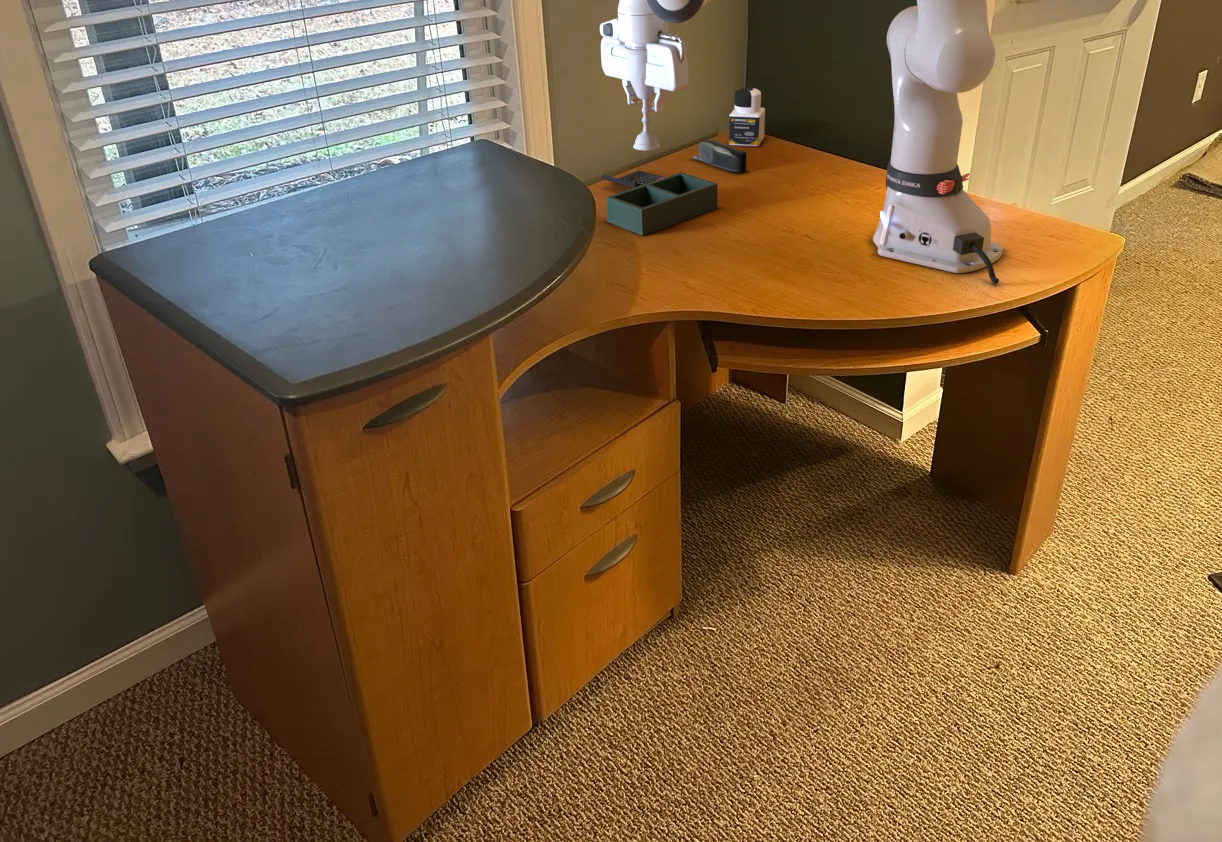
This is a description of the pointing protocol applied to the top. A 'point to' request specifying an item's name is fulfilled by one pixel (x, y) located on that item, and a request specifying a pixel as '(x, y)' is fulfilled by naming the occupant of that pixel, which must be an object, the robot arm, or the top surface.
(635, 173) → the calculator
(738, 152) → the stapler
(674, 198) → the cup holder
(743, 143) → the medicine bottle
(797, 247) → the top surface
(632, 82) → the chalice
